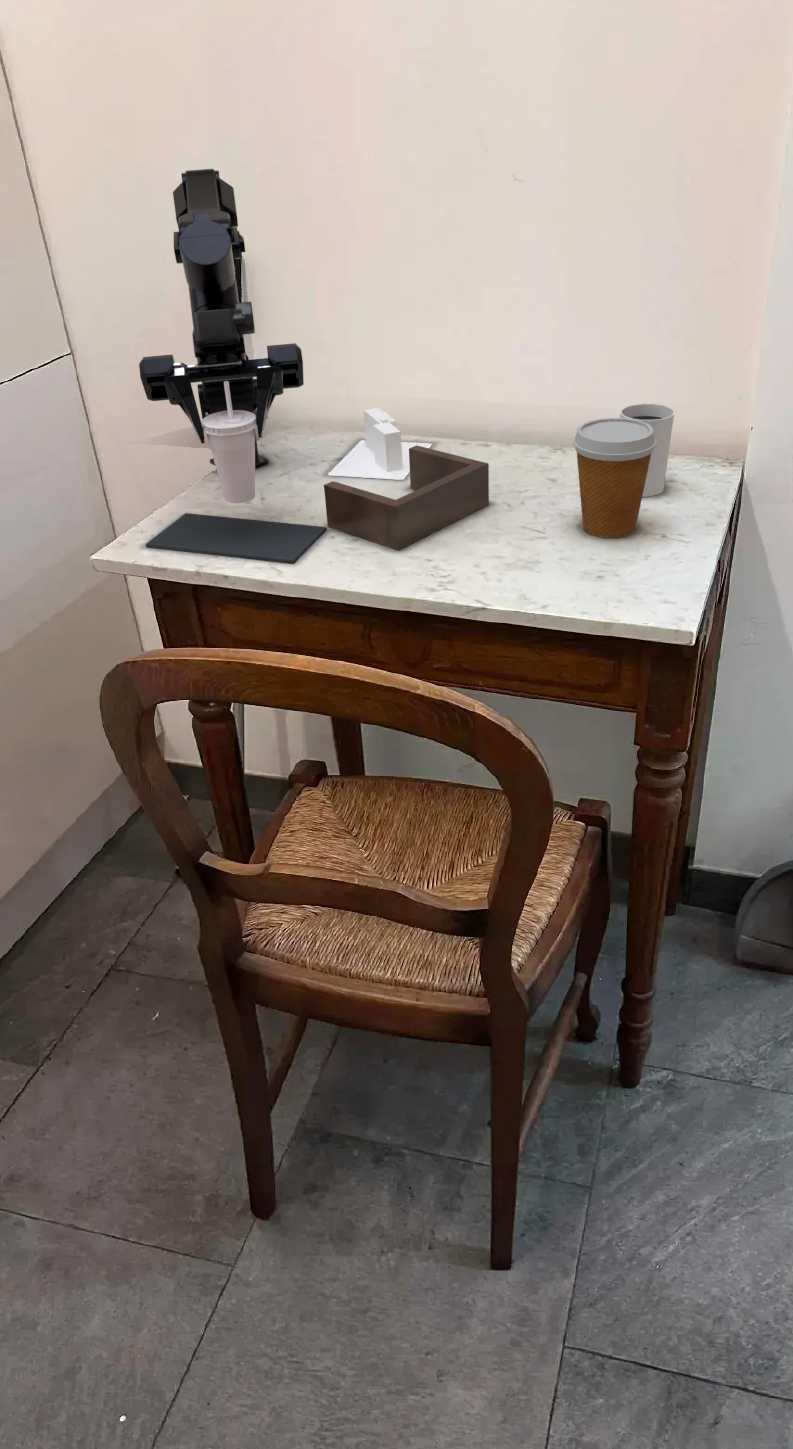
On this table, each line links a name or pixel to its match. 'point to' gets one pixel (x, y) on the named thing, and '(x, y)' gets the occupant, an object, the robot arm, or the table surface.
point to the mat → (237, 537)
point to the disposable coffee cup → (612, 473)
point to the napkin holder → (378, 451)
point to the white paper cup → (662, 428)
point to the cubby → (412, 500)
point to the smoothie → (233, 450)
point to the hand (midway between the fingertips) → (231, 439)
